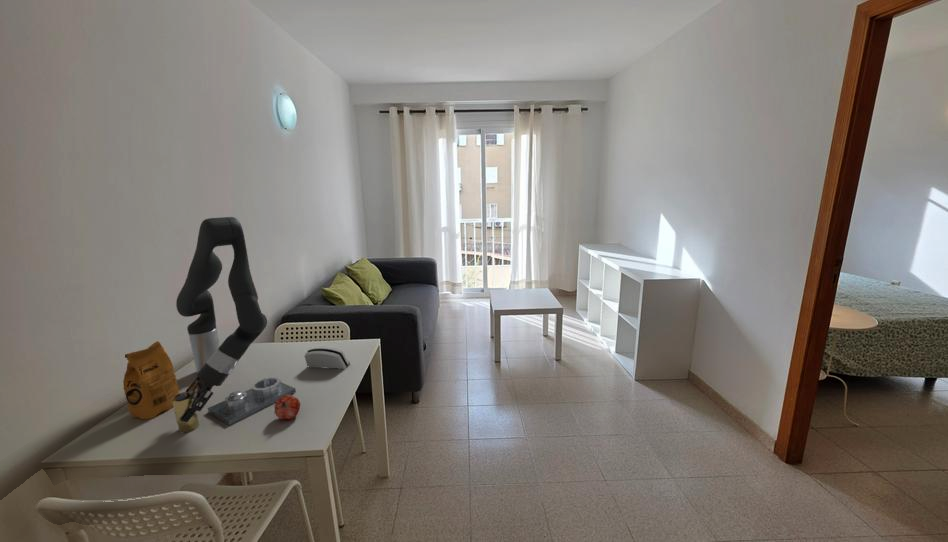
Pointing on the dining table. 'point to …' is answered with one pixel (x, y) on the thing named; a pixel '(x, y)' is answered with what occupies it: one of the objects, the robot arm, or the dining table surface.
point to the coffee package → (149, 382)
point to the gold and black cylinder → (180, 406)
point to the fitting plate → (250, 400)
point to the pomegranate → (287, 407)
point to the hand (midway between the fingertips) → (181, 414)
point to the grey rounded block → (326, 358)
